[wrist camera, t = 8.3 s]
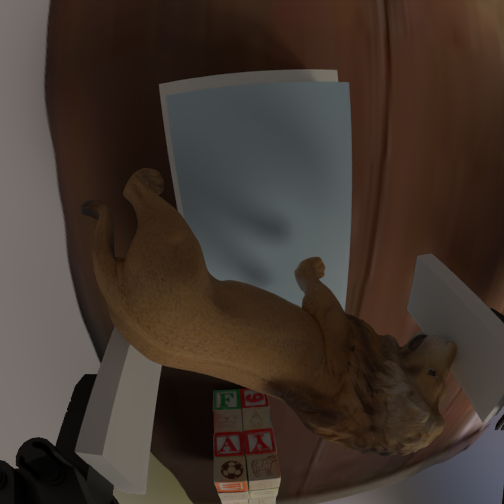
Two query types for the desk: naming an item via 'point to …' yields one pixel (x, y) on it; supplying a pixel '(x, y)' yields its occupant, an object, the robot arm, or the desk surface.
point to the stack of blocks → (244, 448)
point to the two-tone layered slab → (264, 173)
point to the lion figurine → (267, 333)
